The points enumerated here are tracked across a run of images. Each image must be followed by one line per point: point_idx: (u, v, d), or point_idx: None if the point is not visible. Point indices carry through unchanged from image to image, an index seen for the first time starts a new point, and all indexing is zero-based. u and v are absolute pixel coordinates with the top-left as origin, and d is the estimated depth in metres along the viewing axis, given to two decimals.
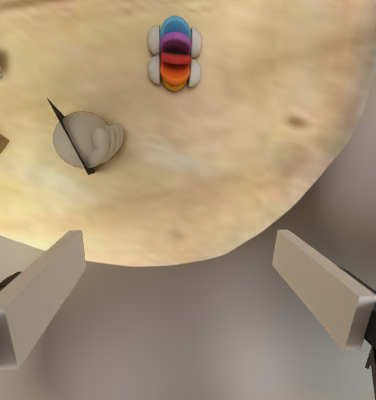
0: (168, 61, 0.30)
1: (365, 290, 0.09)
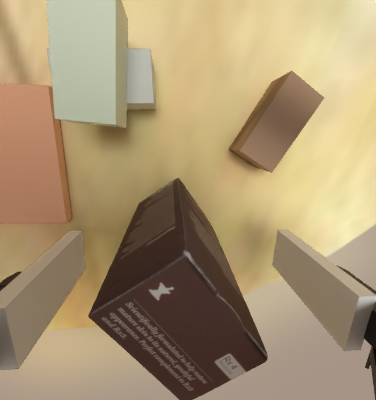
0: None
1: (365, 290, 0.09)
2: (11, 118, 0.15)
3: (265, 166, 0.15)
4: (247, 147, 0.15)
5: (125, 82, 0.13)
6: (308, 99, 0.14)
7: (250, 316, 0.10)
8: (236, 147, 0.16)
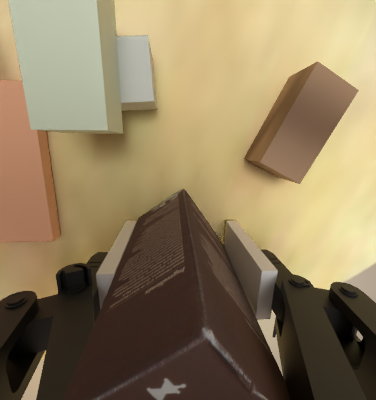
0: None
1: (270, 266, 0.10)
2: None
3: (291, 177, 0.13)
4: (269, 157, 0.13)
5: (117, 78, 0.10)
6: (339, 94, 0.12)
7: (286, 387, 0.07)
8: (254, 157, 0.14)
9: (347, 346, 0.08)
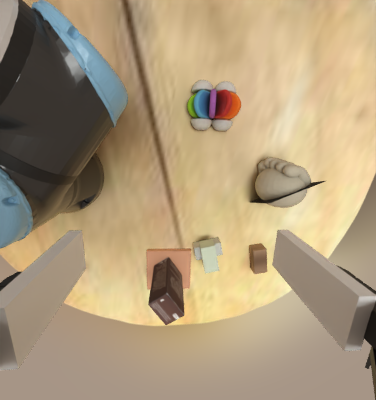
0: (229, 109, 0.36)
1: (365, 290, 0.09)
2: (178, 259, 0.49)
3: None
4: (256, 272, 0.49)
5: None
6: (262, 252, 0.48)
7: (183, 306, 0.40)
8: (252, 270, 0.51)
9: None
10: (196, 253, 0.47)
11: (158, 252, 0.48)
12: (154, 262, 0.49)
